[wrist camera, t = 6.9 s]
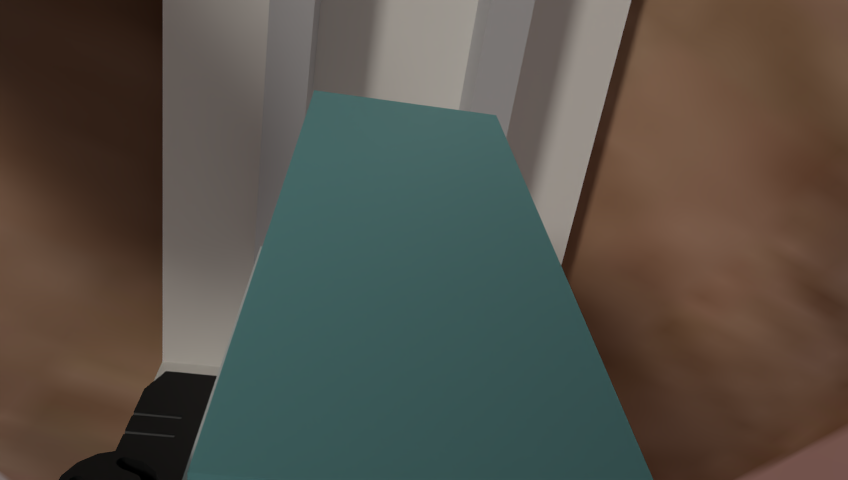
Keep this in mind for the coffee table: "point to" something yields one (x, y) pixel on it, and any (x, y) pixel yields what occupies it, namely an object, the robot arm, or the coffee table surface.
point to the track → (359, 76)
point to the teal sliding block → (410, 319)
